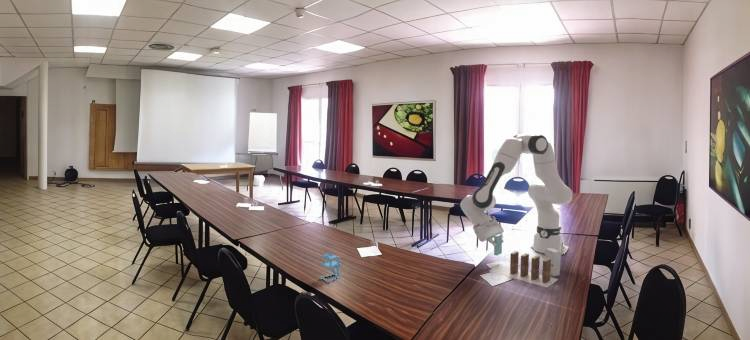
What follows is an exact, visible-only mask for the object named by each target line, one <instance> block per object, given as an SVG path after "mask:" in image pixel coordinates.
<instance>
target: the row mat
mask: <svg viewBox="0 0 750 340" xmlns="http://www.w3.org/2000/svg"><path fill="white" fill-rule="evenodd" d="M520 270H521V268H518V272H517V273H515V274H514V275H513V274H510V266H508V265H504V264H499V265H497V266H495V267H493V268H491V269H489V270H488V272H490V273H493V274H497V275H501V276H504V277H508V278H512V279H515V280H519V281H521V282H527V283H530V284H533V285H536V286H540V287H544V288H549V287H550V286H552V285H553V284H554V283H556V282H557V281H558V280H559V278H554V277H553V276H550V281H549V282H547V283H542V274H540V273H539V278H537V279H536V280H531V271H528V275H527V276H525V277H520Z"/></svg>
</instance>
